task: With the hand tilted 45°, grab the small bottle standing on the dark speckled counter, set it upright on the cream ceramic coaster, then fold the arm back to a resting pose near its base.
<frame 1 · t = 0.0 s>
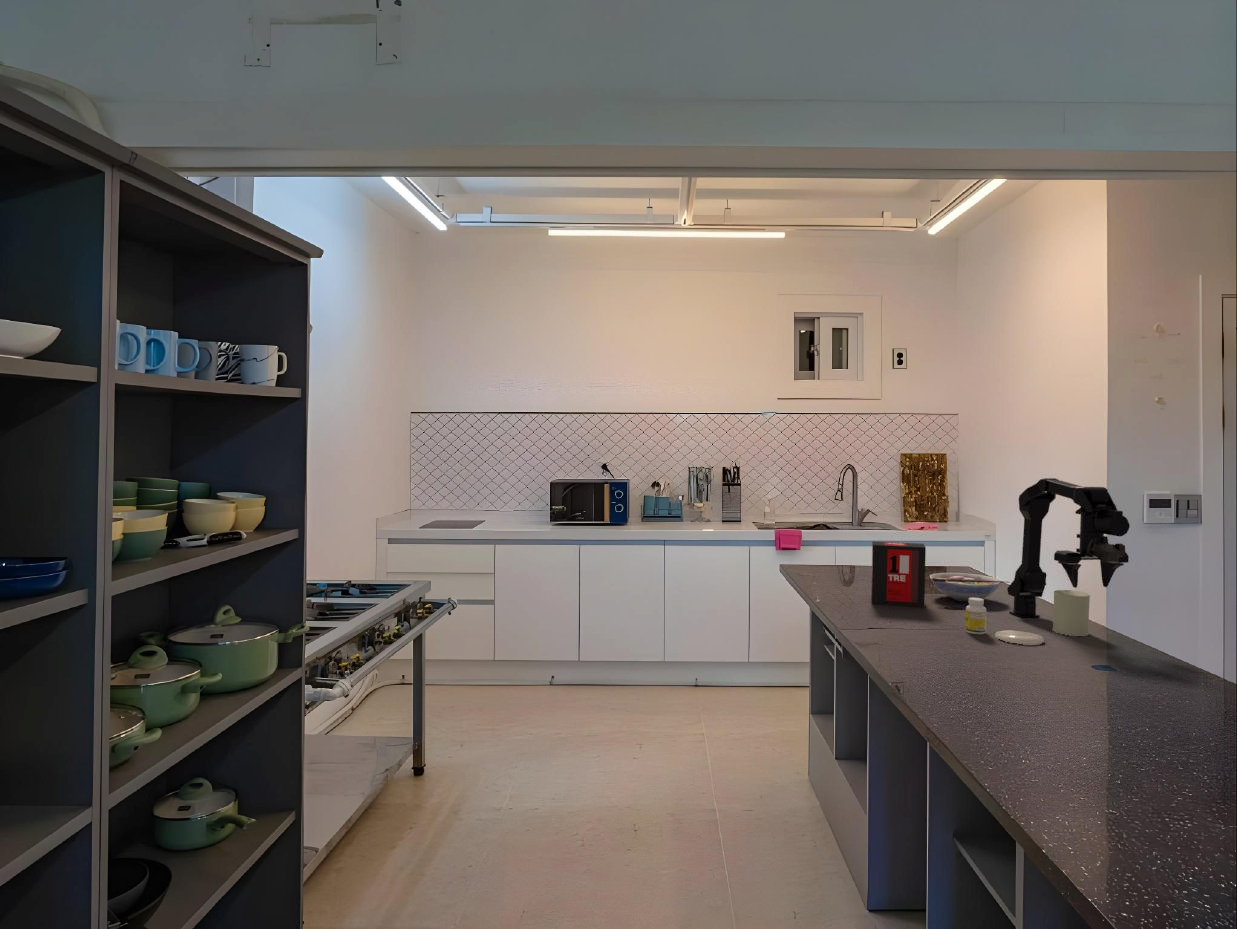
hand: (1090, 587, 218), 15 cm above the countertop, tool pointing down, fingers open, 9 cm apart
can: (1070, 633, 226), on the countertop
ramen bowl: (964, 600, 270), on the countertop
cleaning product box: (897, 603, 264), on the countertop
supplement bottle: (975, 633, 225), on the countertop
coaster: (1019, 639, 218), on the countertop
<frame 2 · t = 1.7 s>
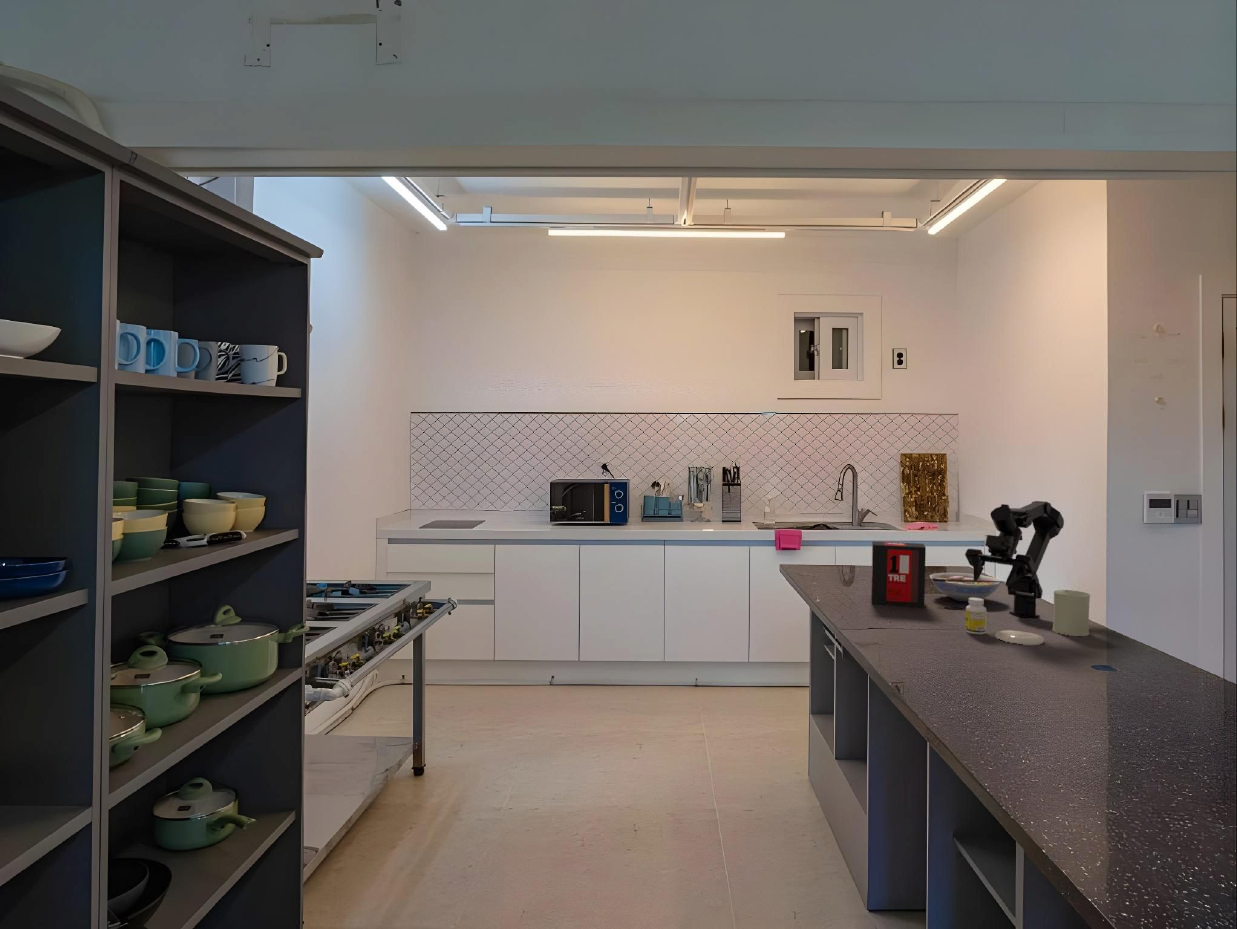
hand: (990, 583, 229), 13 cm above the countertop, tool tilted 45°, fingers open, 9 cm apart
nothing on the countertop moved.
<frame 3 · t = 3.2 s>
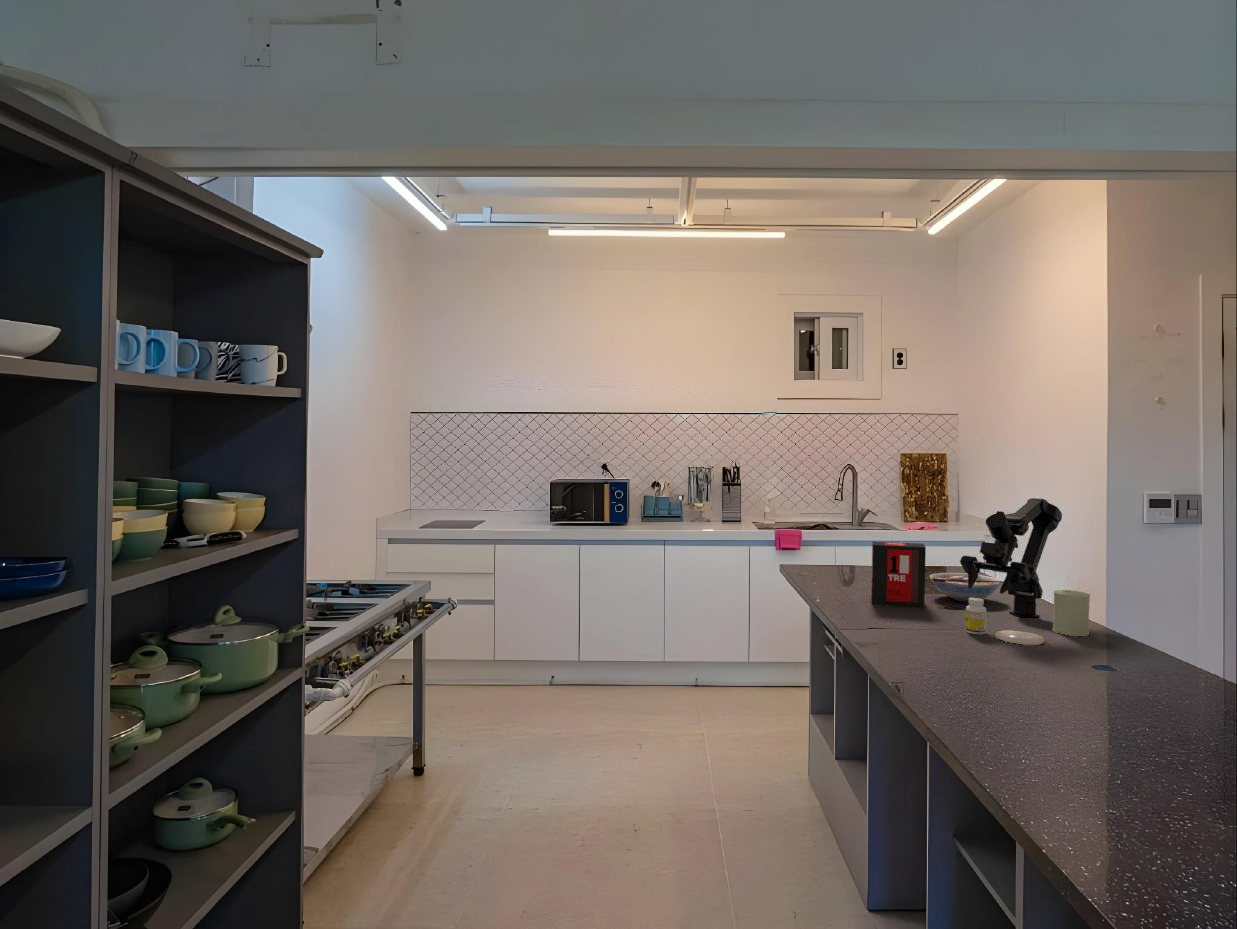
hand: (984, 590, 228), 12 cm above the countertop, tool tilted 45°, fingers open, 9 cm apart
nothing on the countertop moved.
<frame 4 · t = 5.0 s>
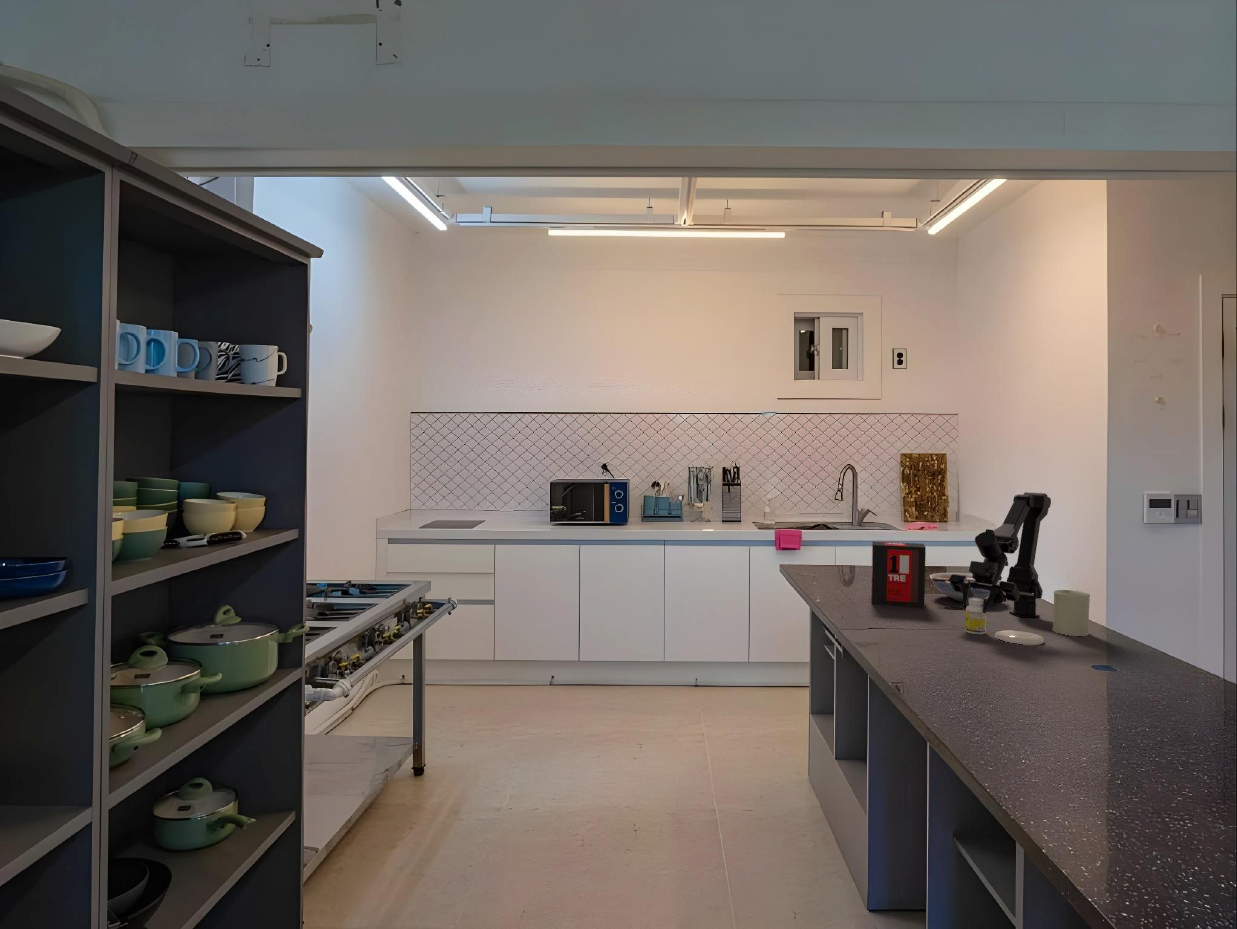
hand: (973, 610, 224), 7 cm above the countertop, tool tilted 45°, fingers closed on supplement bottle, 5 cm apart
supplement bottle: (975, 633, 225), on the countertop, touching gripper
everything else where it was.
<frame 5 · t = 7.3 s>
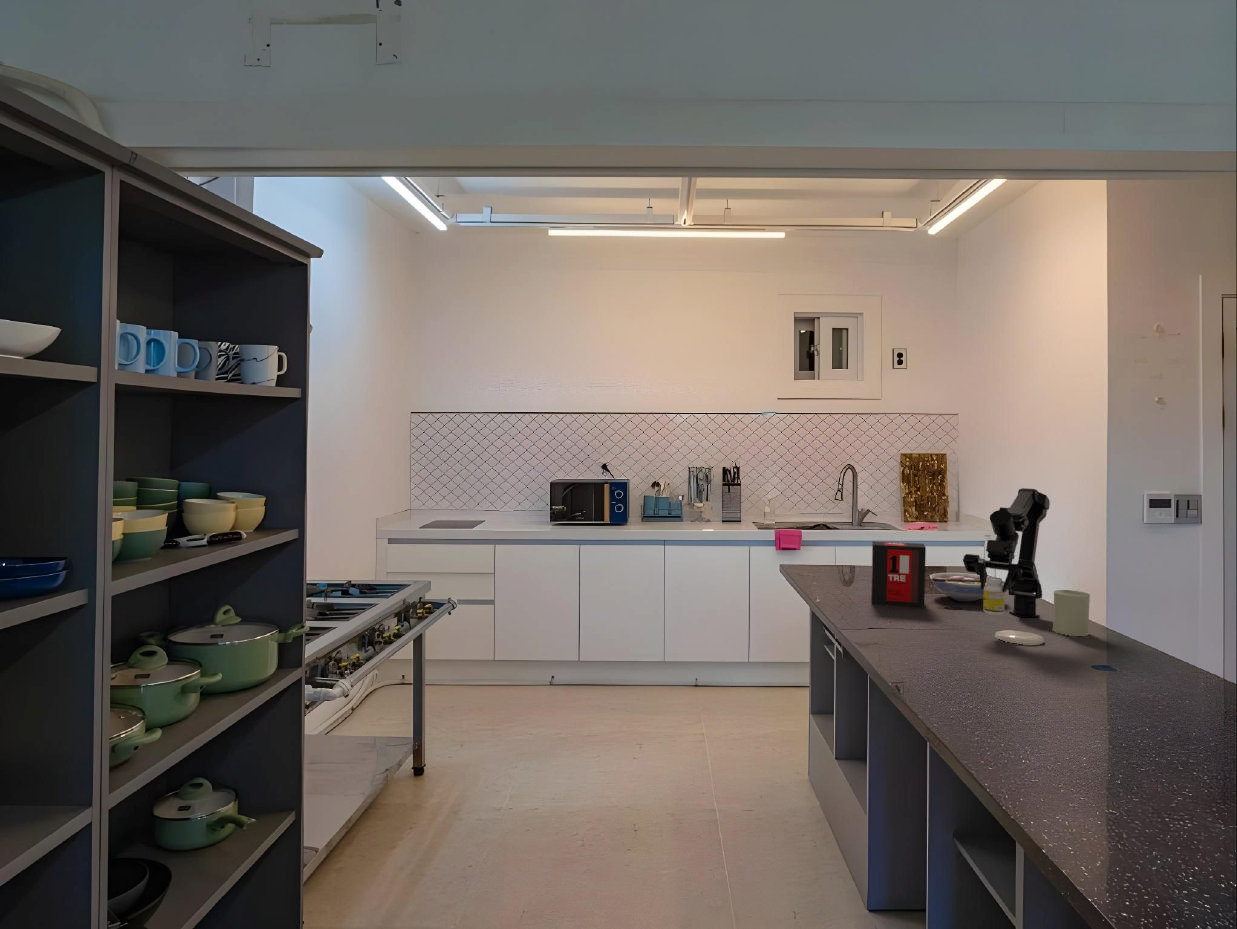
hand: (992, 590, 220), 13 cm above the countertop, tool tilted 45°, fingers closed on supplement bottle, 5 cm apart
supplement bottle: (993, 613, 221), point 6 cm above the countertop, touching gripper
everything else where it was.
when the fingers open (9 cm above the countertop, at t = 9.3 s): supplement bottle drops 1 cm, resting on coaster.
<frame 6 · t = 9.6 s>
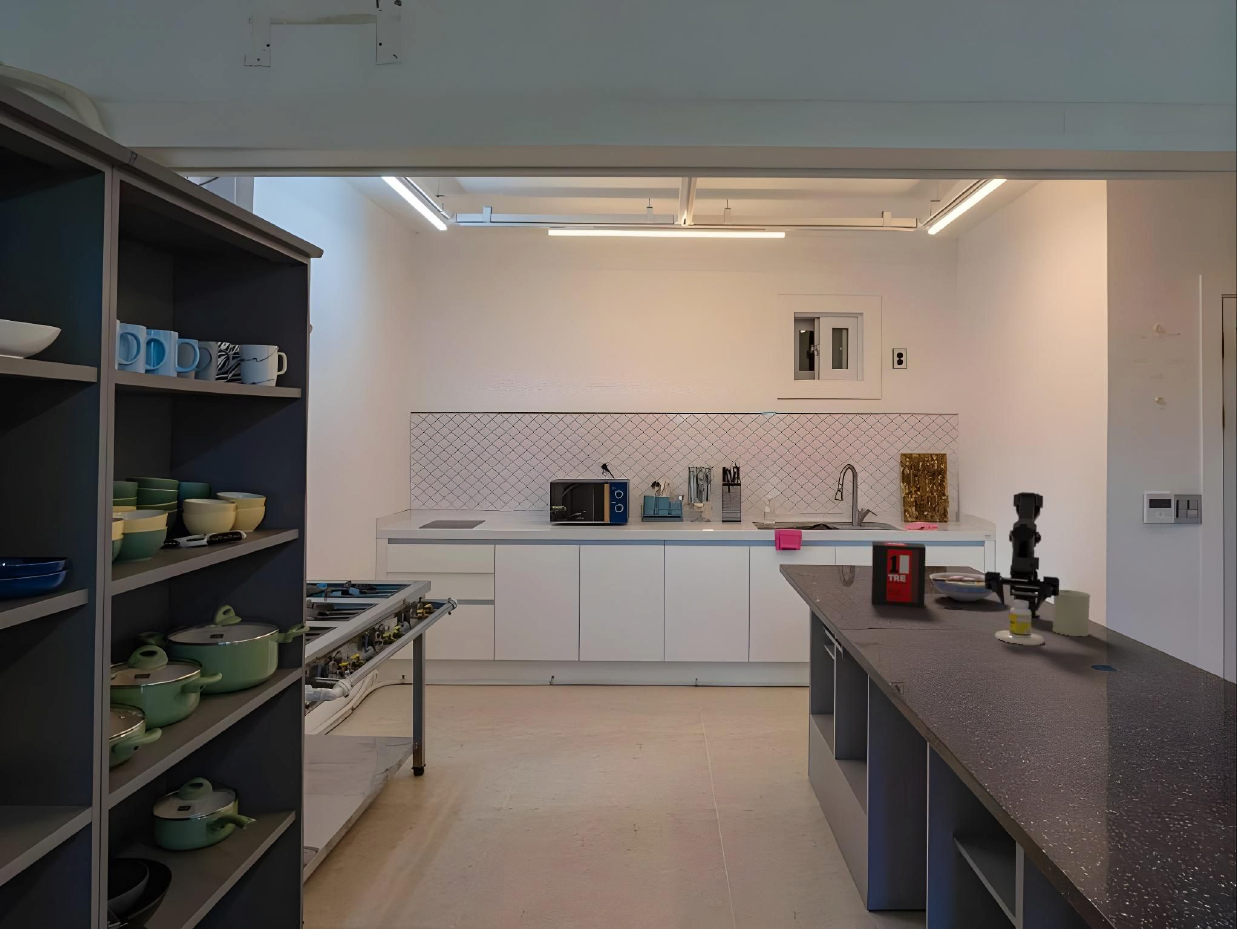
hand: (1019, 608, 216), 9 cm above the countertop, tool tilted 45°, fingers open, 8 cm apart
supplement bottle: (1019, 636, 218), point 1 cm above the countertop, touching coaster
everything else where it was.
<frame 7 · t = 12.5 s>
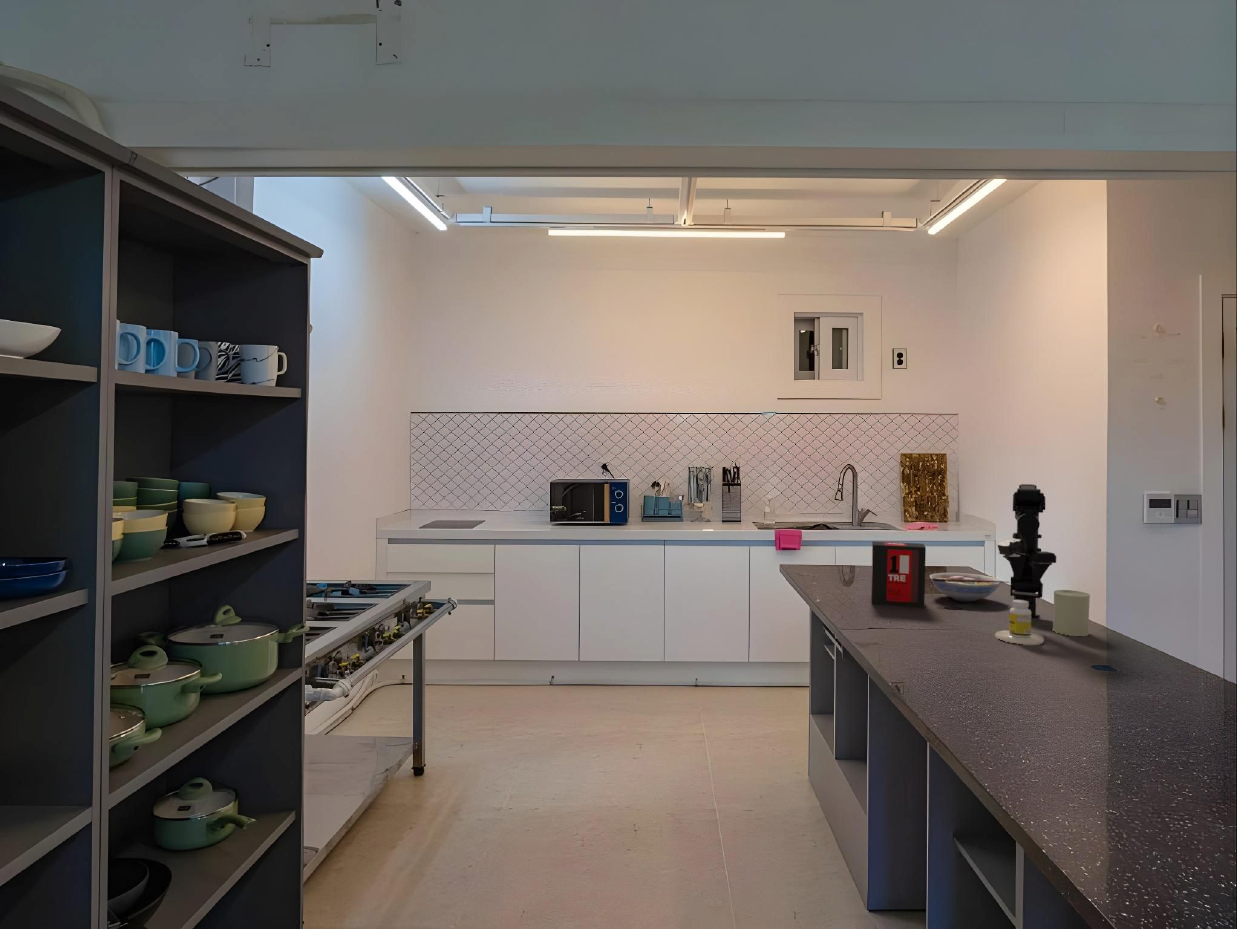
hand: (1026, 582, 233), 13 cm above the countertop, tool pointing down, fingers open, 8 cm apart
nothing on the countertop moved.
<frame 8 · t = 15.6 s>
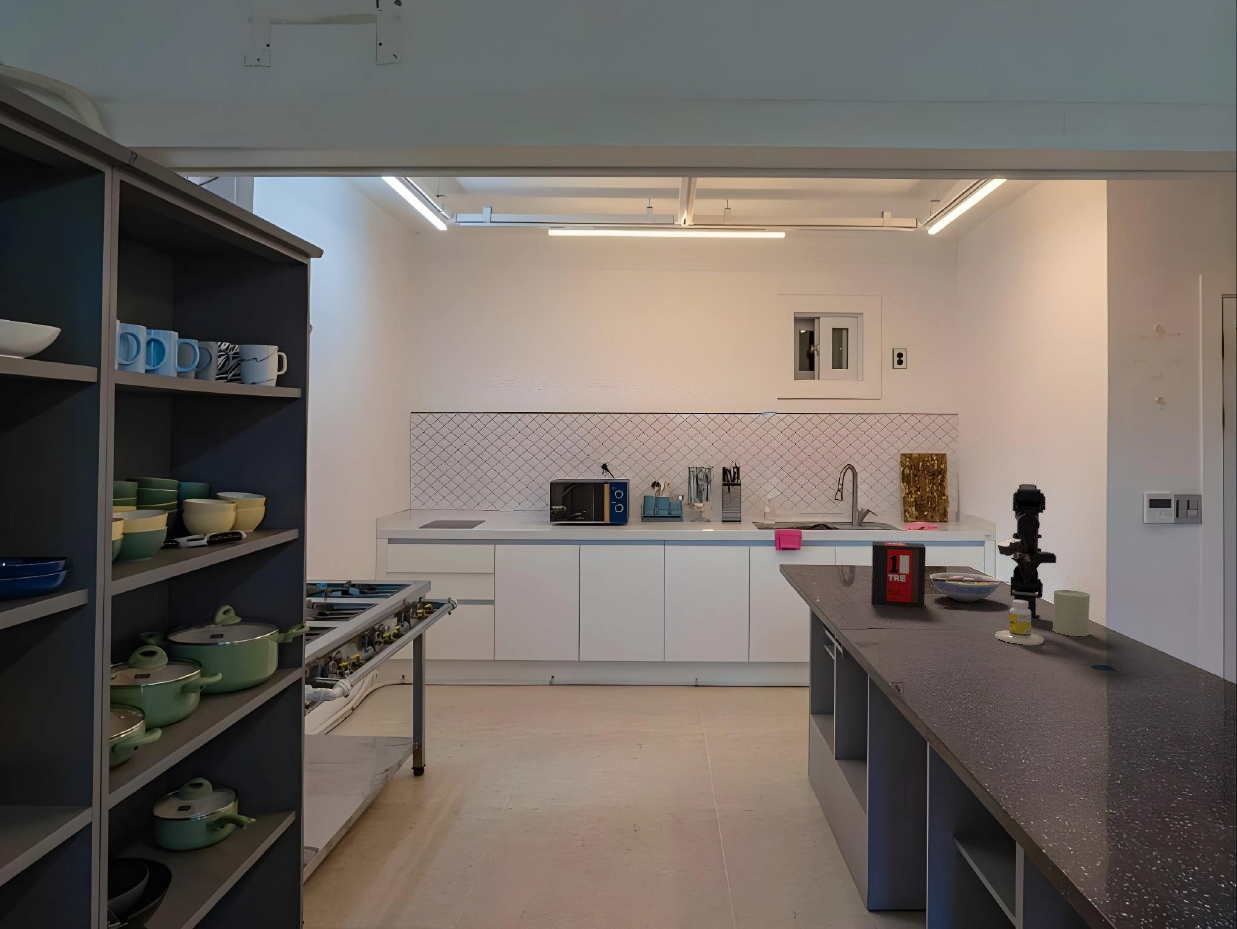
hand: (1026, 582, 233), 13 cm above the countertop, tool pointing down, fingers closed
nothing on the countertop moved.
at the end: supplement bottle inside the target area on the coaster (0.2 cm from its centre), point 0.8 cm above the coaster's base; supplement bottle tilted 0°; the gripper is holding nothing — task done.
